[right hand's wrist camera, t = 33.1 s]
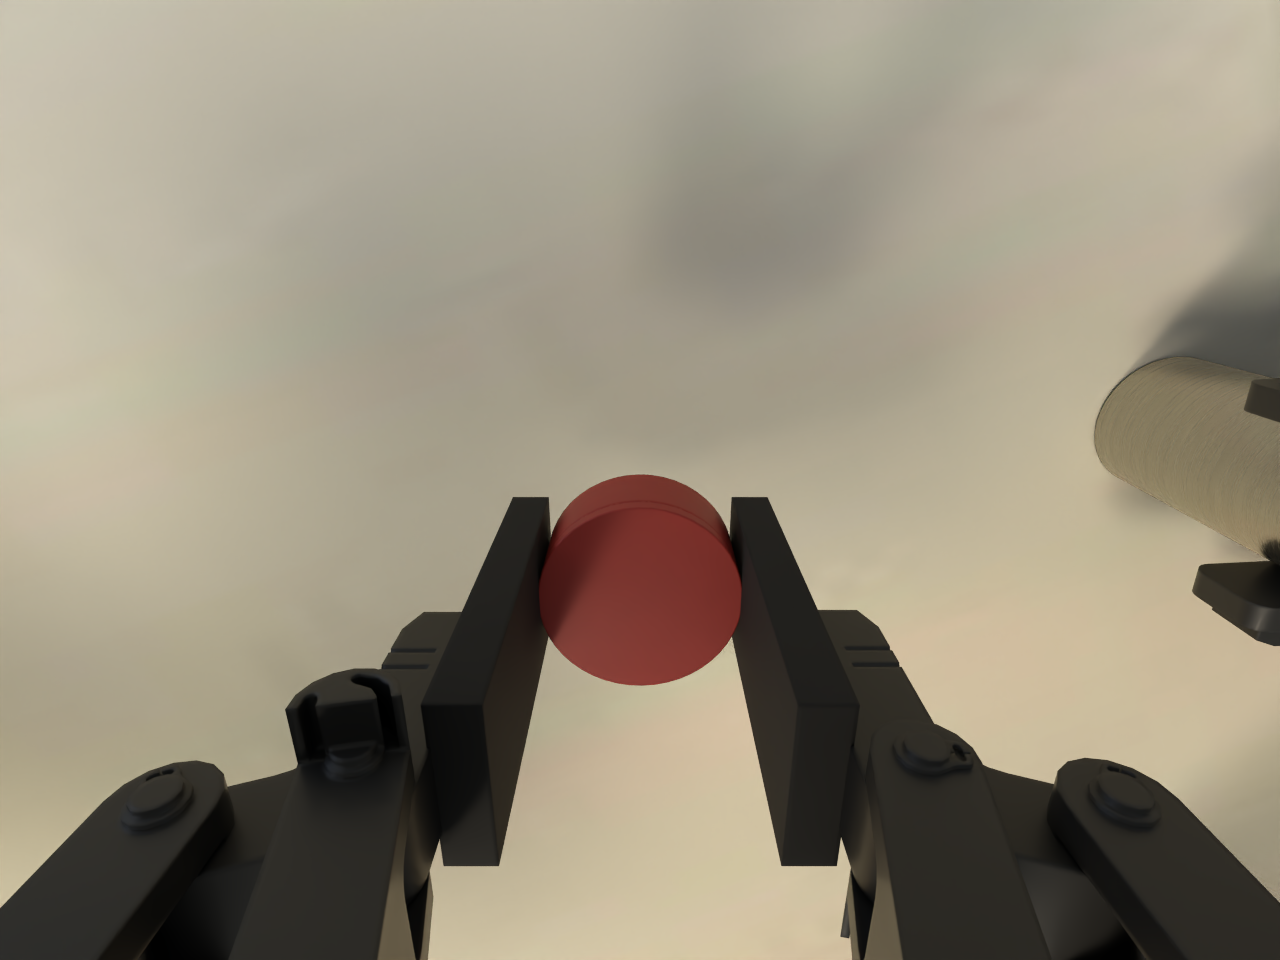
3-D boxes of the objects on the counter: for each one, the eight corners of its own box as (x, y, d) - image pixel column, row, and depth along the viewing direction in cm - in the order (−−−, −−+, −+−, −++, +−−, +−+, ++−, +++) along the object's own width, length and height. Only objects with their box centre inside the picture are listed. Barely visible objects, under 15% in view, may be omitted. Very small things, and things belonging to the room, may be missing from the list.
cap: (690, 444, 14) (697, 475, 12) (757, 599, 15) (771, 646, 13) (516, 515, 14) (500, 554, 13) (596, 659, 16) (591, 711, 14)
